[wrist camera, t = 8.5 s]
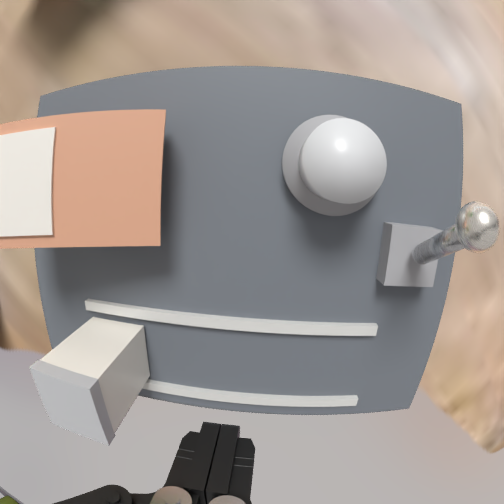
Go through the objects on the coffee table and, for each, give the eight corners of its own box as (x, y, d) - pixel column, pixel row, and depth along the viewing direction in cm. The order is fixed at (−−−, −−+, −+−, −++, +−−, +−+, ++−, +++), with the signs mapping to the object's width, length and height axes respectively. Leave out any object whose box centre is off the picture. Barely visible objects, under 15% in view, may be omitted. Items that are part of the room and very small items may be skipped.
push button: (370, 133, 12) (387, 125, 10) (367, 204, 13) (383, 207, 11) (299, 125, 13) (305, 113, 10) (295, 198, 13) (300, 199, 11)
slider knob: (144, 325, 16) (89, 389, 10) (150, 376, 17) (109, 445, 10) (92, 316, 16) (29, 367, 10) (101, 365, 17) (51, 423, 11)
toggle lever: (430, 239, 13) (503, 198, 7) (432, 275, 13) (511, 248, 7) (401, 236, 13) (469, 189, 7) (402, 273, 13) (477, 243, 7)
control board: (441, 111, 15) (477, 98, 11) (398, 388, 19) (416, 423, 15) (61, 102, 16) (24, 91, 12) (74, 357, 20) (47, 383, 16)
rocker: (165, 117, 13) (166, 108, 11) (160, 239, 14) (160, 246, 13) (7, 129, 10) (-9, 125, 9) (5, 242, 12) (-10, 249, 10)
